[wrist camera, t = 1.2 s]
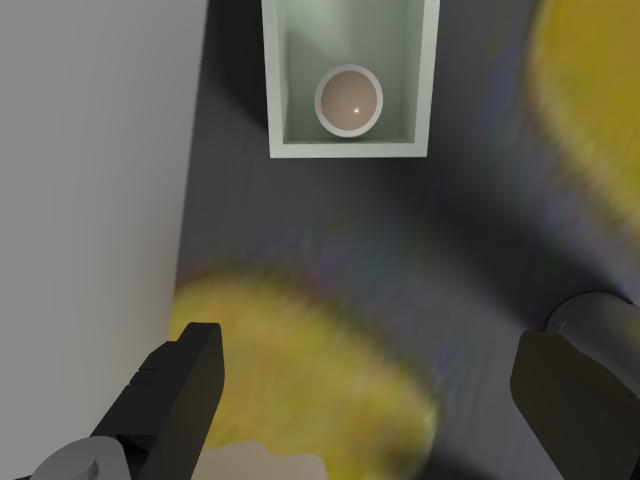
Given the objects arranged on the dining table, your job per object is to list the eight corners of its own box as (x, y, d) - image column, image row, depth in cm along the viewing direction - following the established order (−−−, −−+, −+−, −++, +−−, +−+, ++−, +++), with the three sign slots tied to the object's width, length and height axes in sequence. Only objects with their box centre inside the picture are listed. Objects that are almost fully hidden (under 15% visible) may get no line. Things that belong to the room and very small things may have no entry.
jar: (374, 73, 32) (385, 62, 25) (372, 132, 34) (382, 137, 27) (318, 74, 32) (313, 63, 25) (318, 132, 34) (314, 138, 27)
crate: (424, -114, 29) (456, -195, 21) (406, 147, 35) (426, 156, 28) (272, -108, 29) (251, -186, 21) (283, 148, 36) (270, 157, 28)
